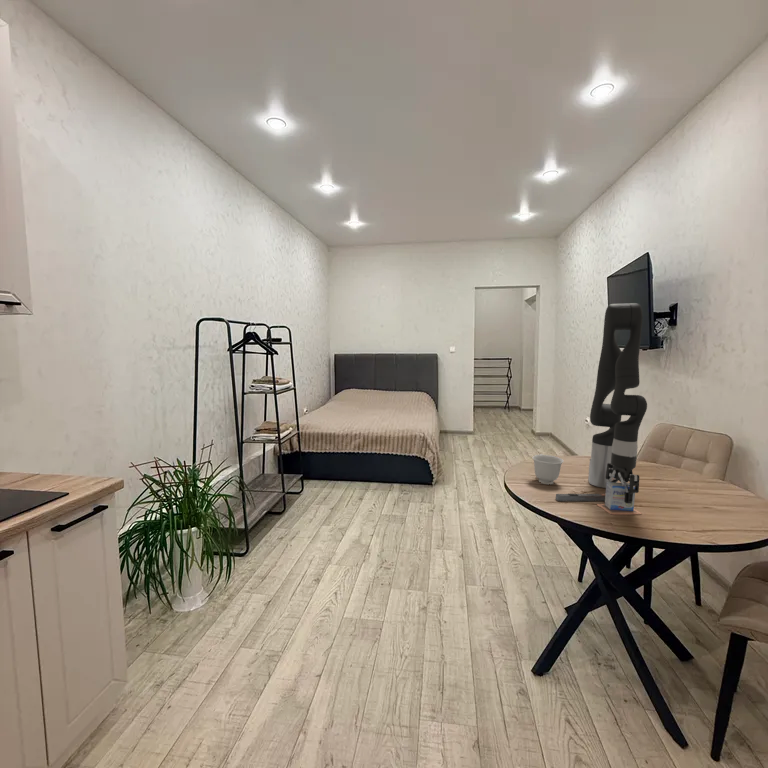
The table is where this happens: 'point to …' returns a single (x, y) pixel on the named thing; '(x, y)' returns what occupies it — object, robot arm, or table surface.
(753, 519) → the table surface
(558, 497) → the rail
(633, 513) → the pad
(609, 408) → the robot arm
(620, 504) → the medicine box
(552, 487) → the table surface
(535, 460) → the teacup
